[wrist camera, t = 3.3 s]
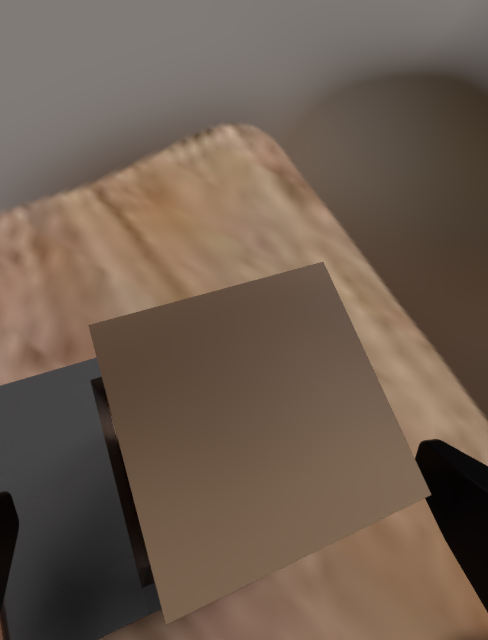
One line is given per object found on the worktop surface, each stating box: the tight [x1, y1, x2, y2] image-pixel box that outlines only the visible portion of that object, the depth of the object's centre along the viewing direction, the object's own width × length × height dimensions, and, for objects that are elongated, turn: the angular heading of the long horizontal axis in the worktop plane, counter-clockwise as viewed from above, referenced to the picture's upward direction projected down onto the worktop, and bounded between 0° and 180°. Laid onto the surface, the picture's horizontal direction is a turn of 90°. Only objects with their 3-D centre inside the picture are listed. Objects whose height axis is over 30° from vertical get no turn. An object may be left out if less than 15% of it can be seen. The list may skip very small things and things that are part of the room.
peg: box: [89, 262, 431, 624], centre depth 11 cm, size 4×4×12 cm
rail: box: [0, 358, 162, 640], centre depth 14 cm, size 8×21×3 cm, turn 110°
